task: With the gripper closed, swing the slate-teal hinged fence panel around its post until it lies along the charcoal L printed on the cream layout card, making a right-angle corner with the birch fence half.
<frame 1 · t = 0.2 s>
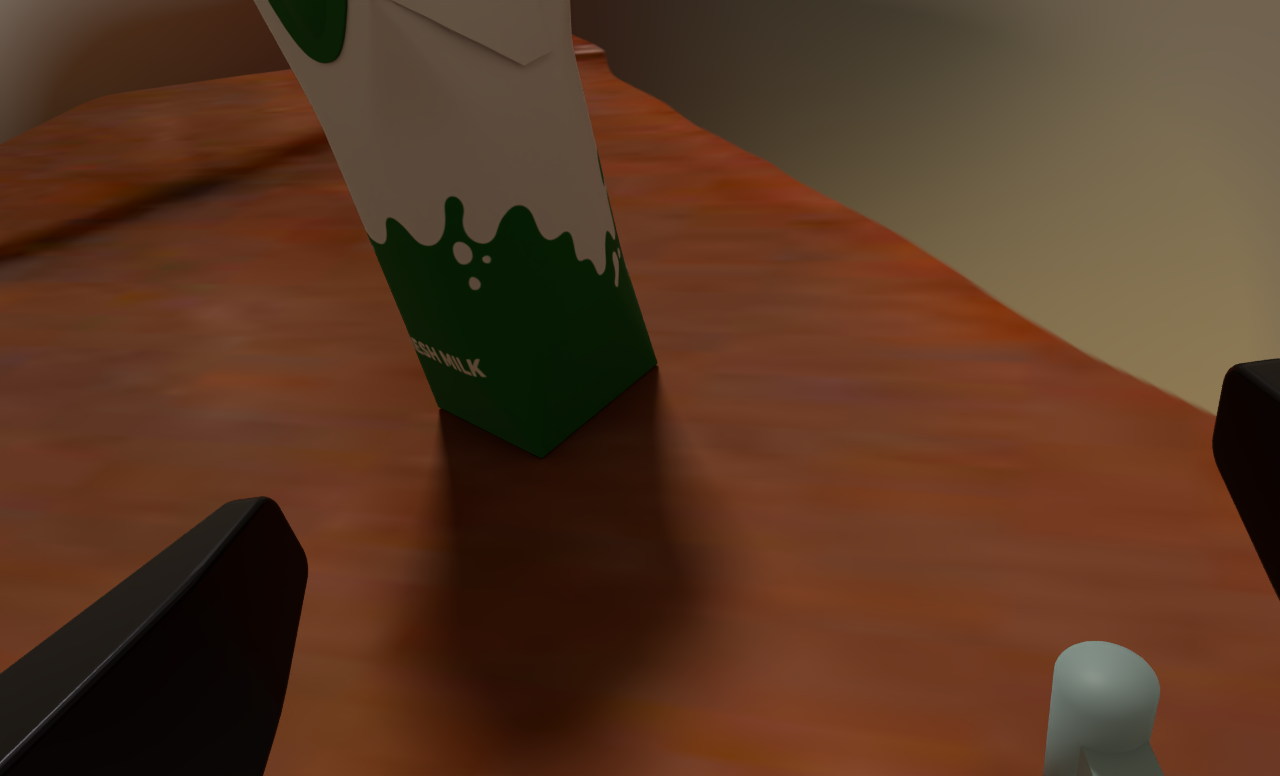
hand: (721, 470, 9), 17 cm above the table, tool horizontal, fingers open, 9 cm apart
milk carton: (550, 389, 40), on the table
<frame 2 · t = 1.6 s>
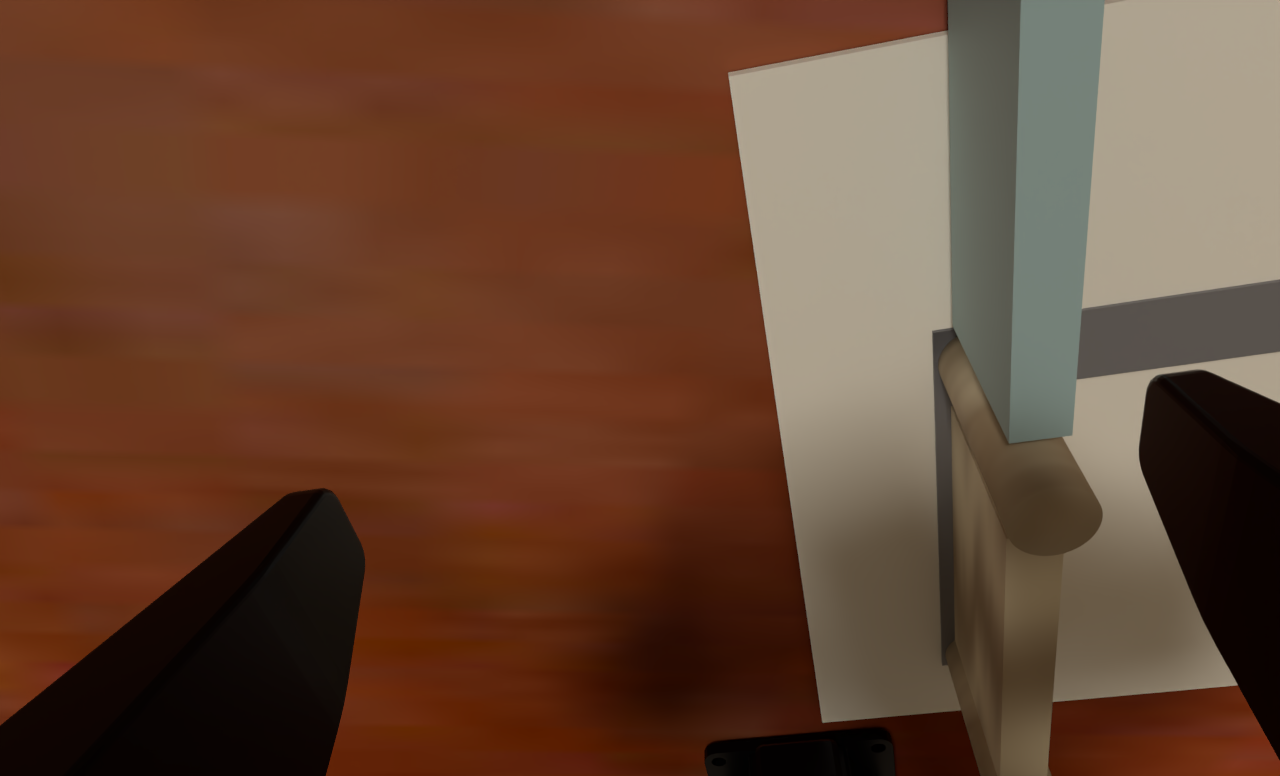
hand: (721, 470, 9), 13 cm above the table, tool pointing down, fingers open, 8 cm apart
fence fixed: (970, 352, 23), resting on layout card
fence flap: (1020, 132, 17), point 4 cm above the table, hinge at 0.0°
layout card: (1137, 423, 24), on the table
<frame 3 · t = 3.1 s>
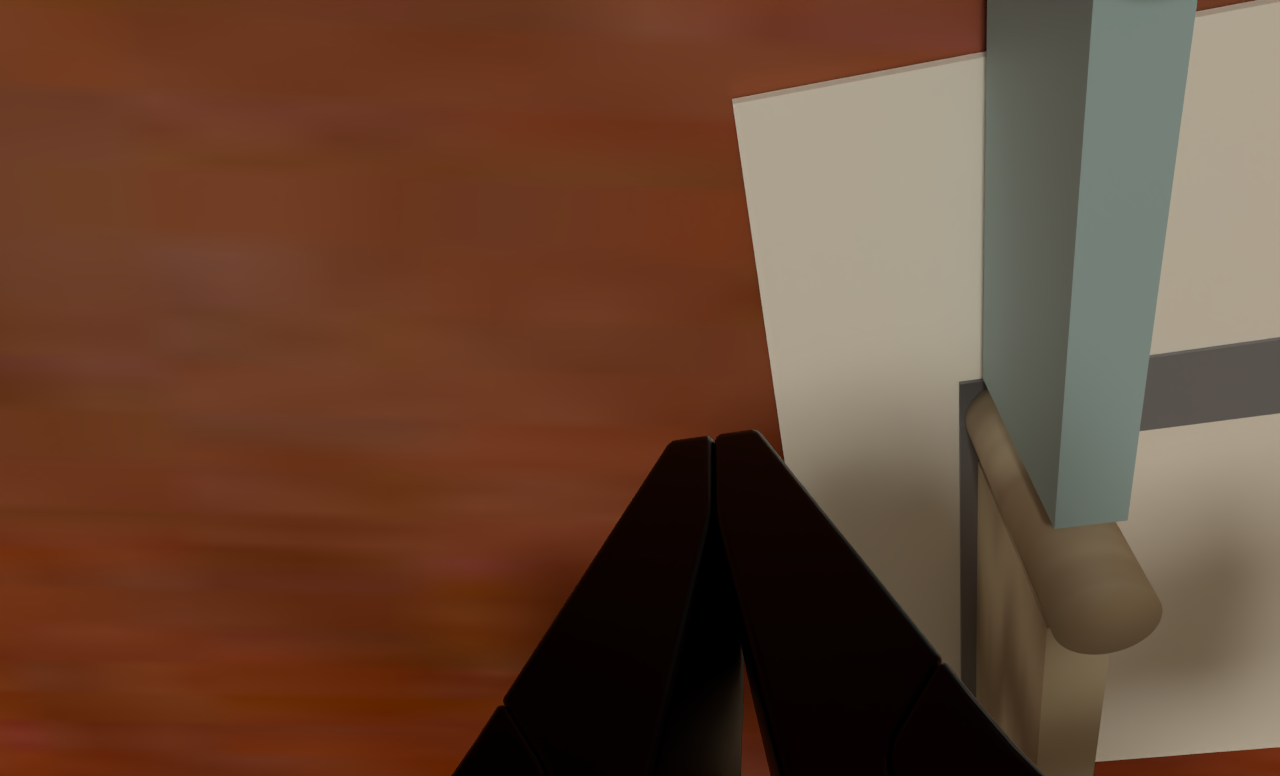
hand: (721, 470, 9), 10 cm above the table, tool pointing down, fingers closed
fence fixed: (1001, 403, 21), resting on layout card
fence flap: (1075, 177, 14), point 4 cm above the table, hinge at 0.0°
layout card: (1182, 478, 22), on the table
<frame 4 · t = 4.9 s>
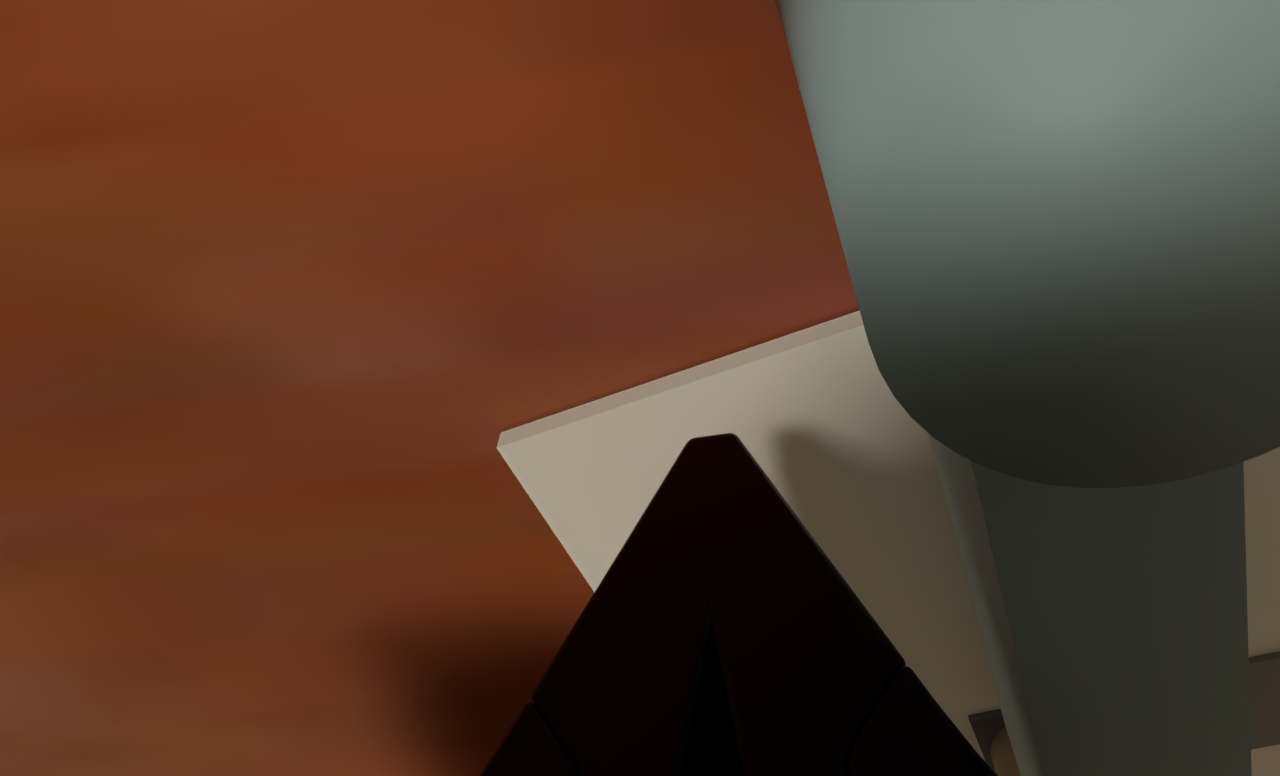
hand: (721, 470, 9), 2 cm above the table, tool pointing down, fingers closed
fence fixed: (1045, 722, 14), resting on layout card
fence flap: (1063, 596, 7), point 3 cm above the table, hinge at -3.4°, touching gripper
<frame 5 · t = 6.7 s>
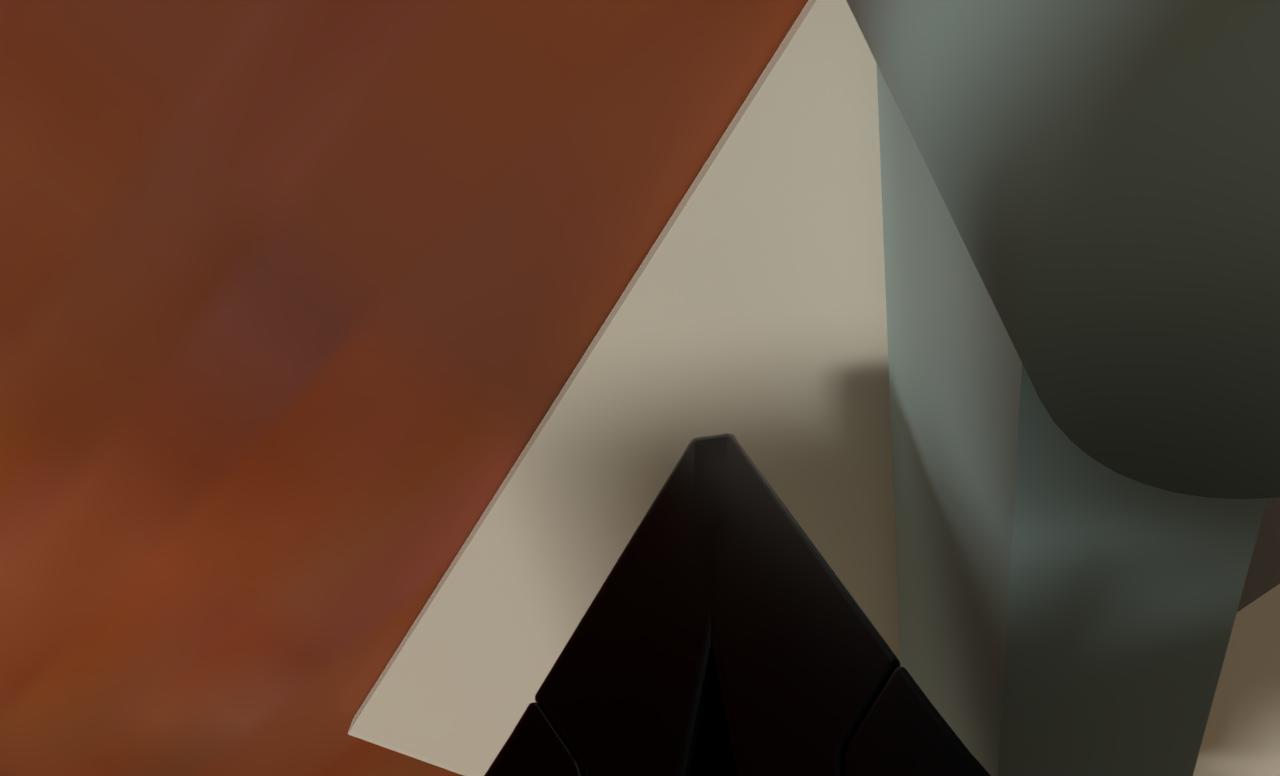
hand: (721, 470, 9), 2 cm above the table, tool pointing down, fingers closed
fence flap: (1016, 610, 8), point 3 cm above the table, hinge at -50.3°, touching gripper
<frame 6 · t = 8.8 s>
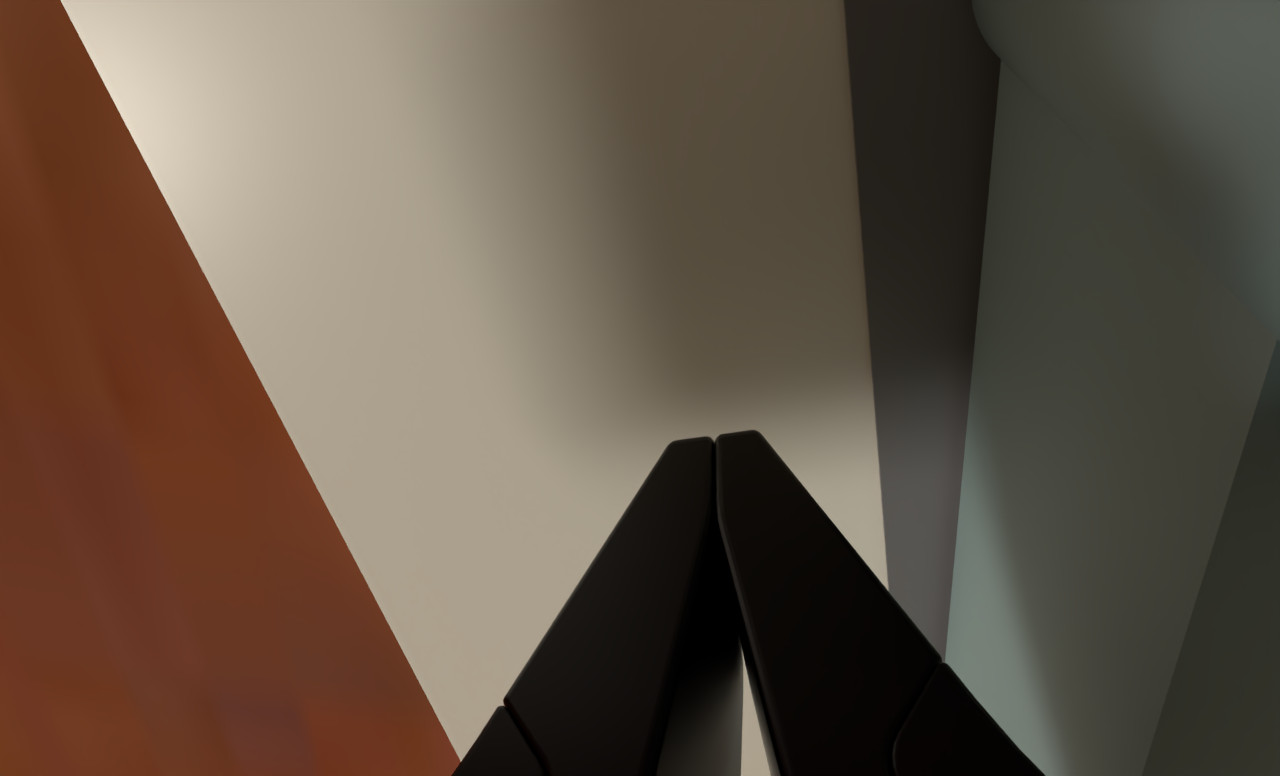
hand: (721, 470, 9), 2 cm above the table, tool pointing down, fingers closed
fence flap: (1117, 624, 8), point 4 cm above the table, hinge at -94.4°
layout card: (1199, 532, 12), on the table
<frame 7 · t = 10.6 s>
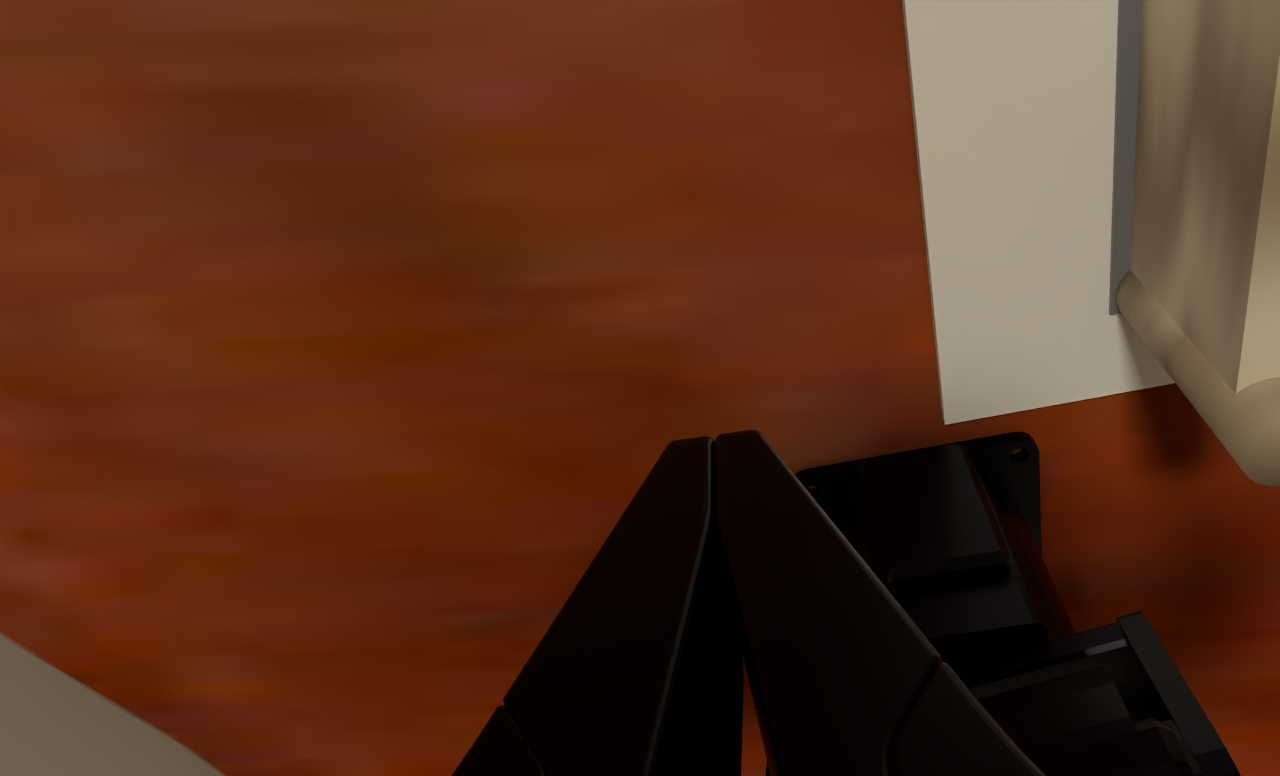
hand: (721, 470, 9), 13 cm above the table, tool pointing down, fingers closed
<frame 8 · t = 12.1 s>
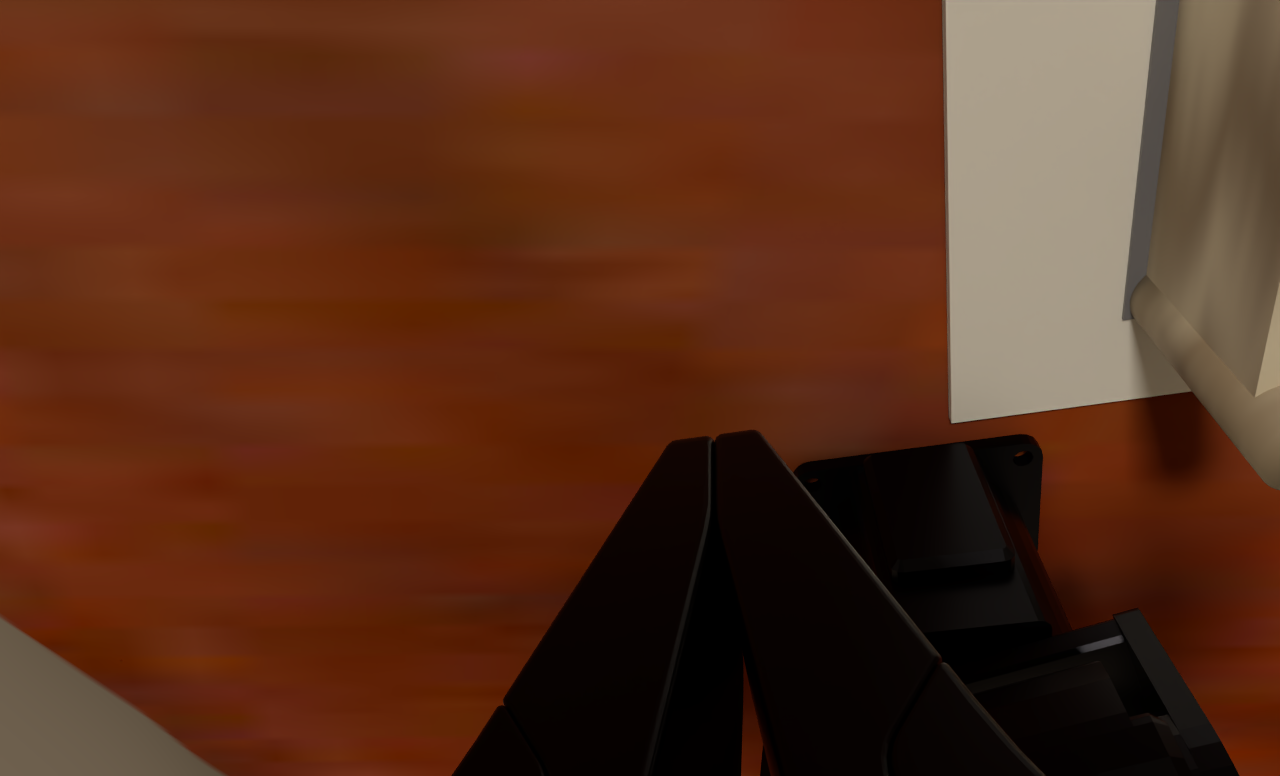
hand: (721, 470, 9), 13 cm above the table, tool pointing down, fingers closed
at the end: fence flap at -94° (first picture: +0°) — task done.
